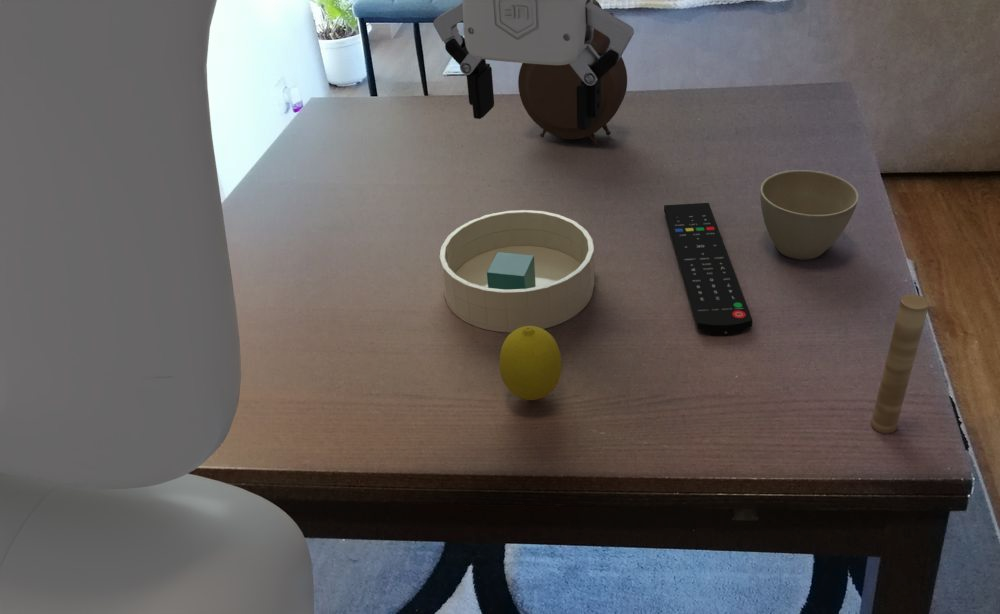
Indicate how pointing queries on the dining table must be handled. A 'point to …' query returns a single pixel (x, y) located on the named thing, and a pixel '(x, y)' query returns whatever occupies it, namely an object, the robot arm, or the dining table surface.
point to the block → (511, 271)
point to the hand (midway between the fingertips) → (534, 118)
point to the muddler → (899, 362)
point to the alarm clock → (569, 94)
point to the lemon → (530, 363)
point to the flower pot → (806, 211)
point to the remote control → (707, 270)
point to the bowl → (556, 259)
